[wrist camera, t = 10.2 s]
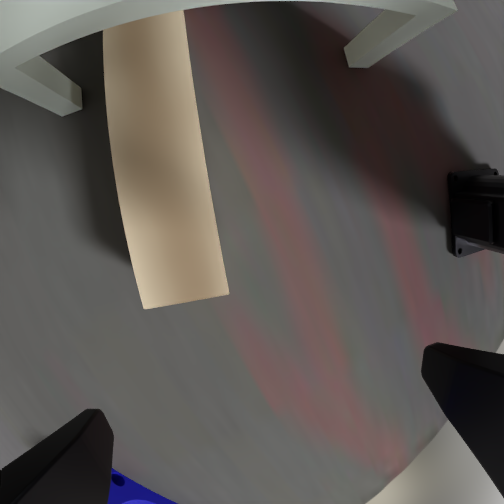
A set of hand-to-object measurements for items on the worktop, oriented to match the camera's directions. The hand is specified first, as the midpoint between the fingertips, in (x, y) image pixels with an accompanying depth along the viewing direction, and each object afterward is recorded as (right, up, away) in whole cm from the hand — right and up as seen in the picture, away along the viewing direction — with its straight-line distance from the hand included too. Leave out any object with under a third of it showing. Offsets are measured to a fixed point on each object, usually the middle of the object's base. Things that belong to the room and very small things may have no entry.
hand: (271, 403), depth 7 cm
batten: (-6, +15, +9) cm, 18 cm away
